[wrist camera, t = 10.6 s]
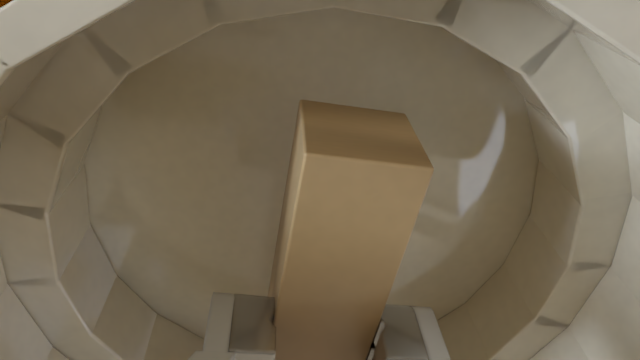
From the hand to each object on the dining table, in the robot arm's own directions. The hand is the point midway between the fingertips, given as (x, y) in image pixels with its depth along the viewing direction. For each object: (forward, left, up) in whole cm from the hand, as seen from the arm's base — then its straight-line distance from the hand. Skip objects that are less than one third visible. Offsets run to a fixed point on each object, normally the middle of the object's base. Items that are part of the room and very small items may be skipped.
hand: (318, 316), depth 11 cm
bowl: (0, 0, -4) cm, 4 cm away
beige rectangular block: (0, 0, -2) cm, 2 cm away
